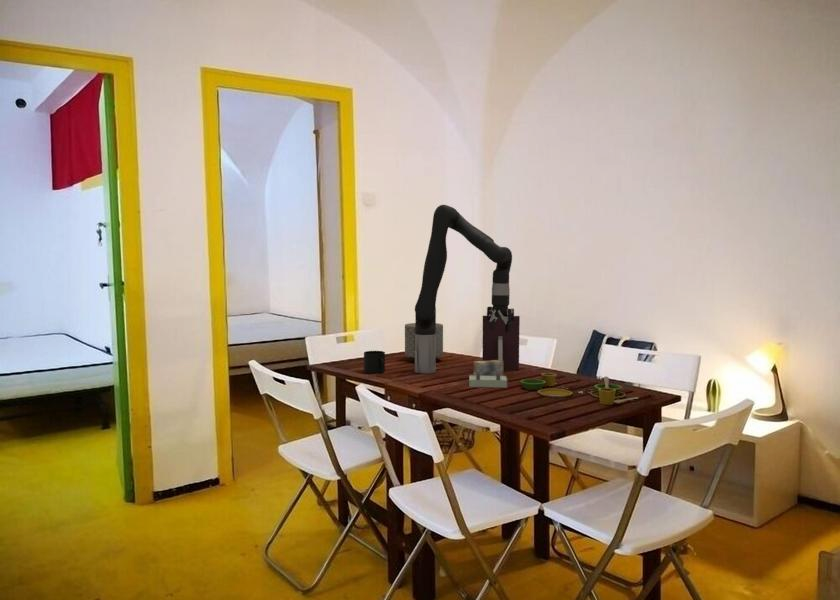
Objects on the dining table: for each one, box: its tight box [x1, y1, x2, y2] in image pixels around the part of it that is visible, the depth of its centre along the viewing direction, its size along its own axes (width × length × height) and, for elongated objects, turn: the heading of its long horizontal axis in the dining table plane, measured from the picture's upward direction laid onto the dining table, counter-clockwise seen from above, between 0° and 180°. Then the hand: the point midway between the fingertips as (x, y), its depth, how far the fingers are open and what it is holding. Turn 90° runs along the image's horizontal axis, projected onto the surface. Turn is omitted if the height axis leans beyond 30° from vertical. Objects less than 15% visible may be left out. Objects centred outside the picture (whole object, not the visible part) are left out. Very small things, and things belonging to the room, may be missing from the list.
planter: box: [404, 322, 444, 362], centre depth 317 cm, size 19×19×18 cm
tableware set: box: [519, 372, 639, 406], centre depth 243 cm, size 41×28×6 cm
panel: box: [473, 360, 505, 376], centre depth 269 cm, size 12×4×8 cm, turn 110°
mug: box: [363, 350, 386, 375], centre depth 286 cm, size 9×12×9 cm
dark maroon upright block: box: [481, 315, 521, 371], centre depth 288 cm, size 17×10×25 cm, turn 84°
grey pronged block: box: [468, 366, 508, 389], centre depth 258 cm, size 15×9×7 cm, turn 85°
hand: (499, 331), depth 272 cm, fingers open, 8 cm apart
